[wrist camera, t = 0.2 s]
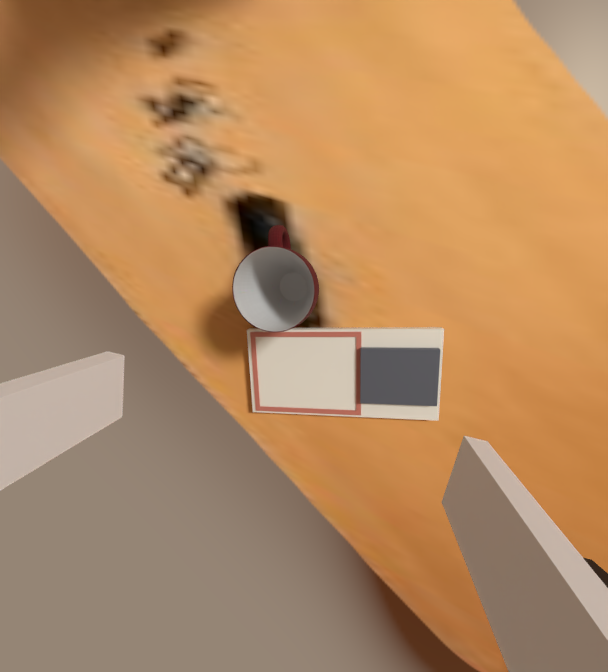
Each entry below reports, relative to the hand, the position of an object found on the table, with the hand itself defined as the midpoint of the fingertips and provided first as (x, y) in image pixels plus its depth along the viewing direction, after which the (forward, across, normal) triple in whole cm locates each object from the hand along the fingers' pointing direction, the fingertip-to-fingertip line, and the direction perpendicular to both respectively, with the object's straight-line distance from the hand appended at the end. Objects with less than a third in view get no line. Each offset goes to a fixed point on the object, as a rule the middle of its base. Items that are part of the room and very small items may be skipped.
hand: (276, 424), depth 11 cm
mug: (+27, -6, +5) cm, 28 cm away
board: (+27, +3, -6) cm, 27 cm away
